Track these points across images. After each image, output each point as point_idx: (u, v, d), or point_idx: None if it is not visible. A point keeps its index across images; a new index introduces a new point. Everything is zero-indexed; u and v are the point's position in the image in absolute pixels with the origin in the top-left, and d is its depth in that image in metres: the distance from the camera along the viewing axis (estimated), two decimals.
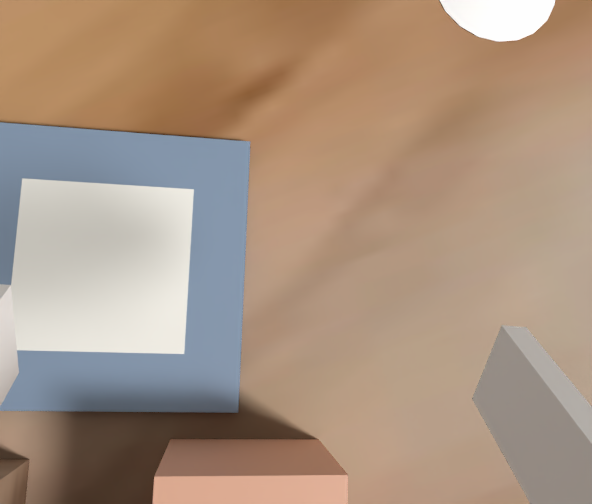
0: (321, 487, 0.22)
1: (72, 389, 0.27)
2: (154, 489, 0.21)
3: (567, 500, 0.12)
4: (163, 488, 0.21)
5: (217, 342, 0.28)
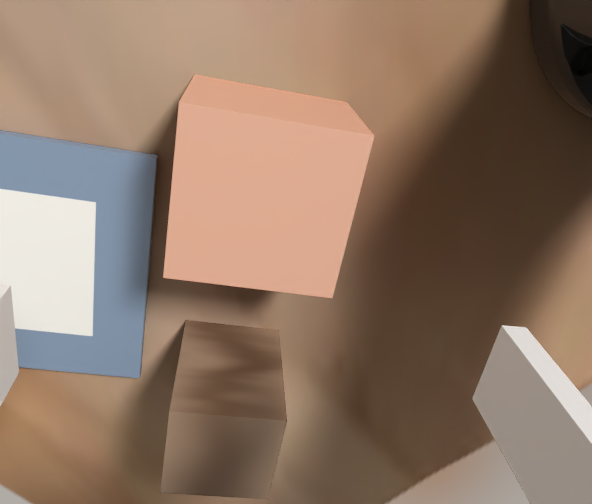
0: (188, 132, 0.21)
1: (127, 292, 0.31)
2: (173, 278, 0.24)
3: (567, 500, 0.12)
4: (173, 271, 0.24)
5: (83, 170, 0.28)
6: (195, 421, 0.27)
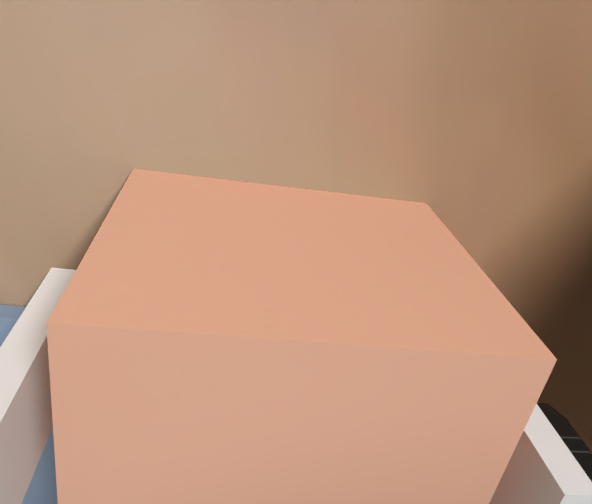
0: (83, 387, 0.08)
1: None
2: None
3: None
4: None
5: None
6: None
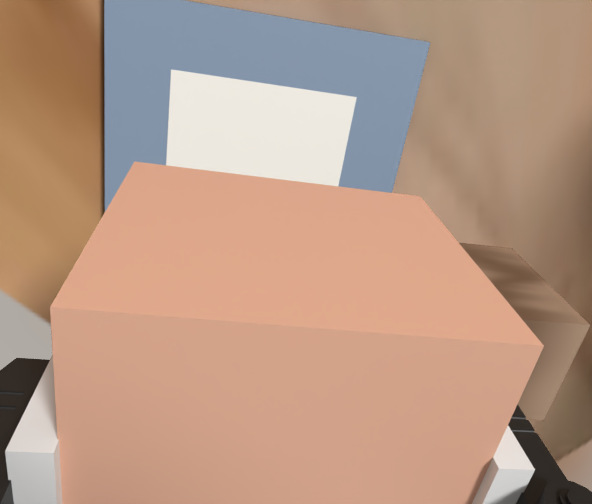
0: (85, 370, 0.08)
1: None
2: None
3: None
4: None
5: (350, 58, 0.25)
6: None
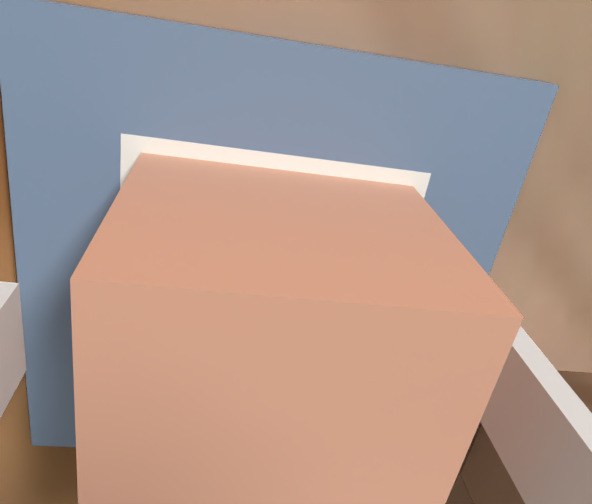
0: (102, 338, 0.09)
1: None
2: None
3: (558, 495, 0.12)
4: None
5: (425, 112, 0.15)
6: None
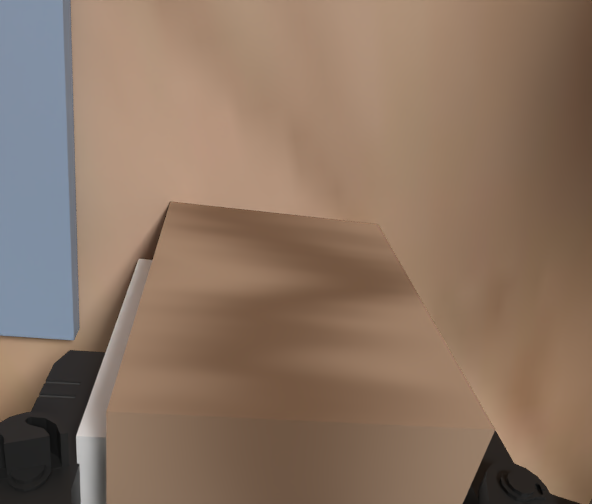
0: None
1: (18, 116, 0.13)
2: None
3: None
4: None
5: None
6: (198, 443, 0.08)
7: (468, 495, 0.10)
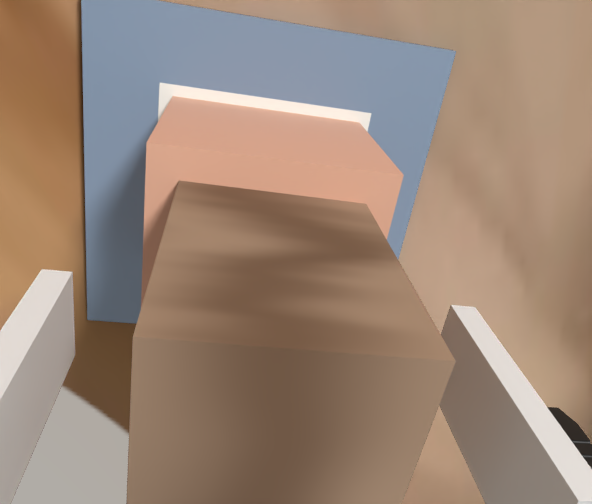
0: (161, 180, 0.16)
1: None
2: None
3: (500, 466, 0.12)
4: None
5: (365, 69, 0.22)
6: (208, 367, 0.10)
7: None
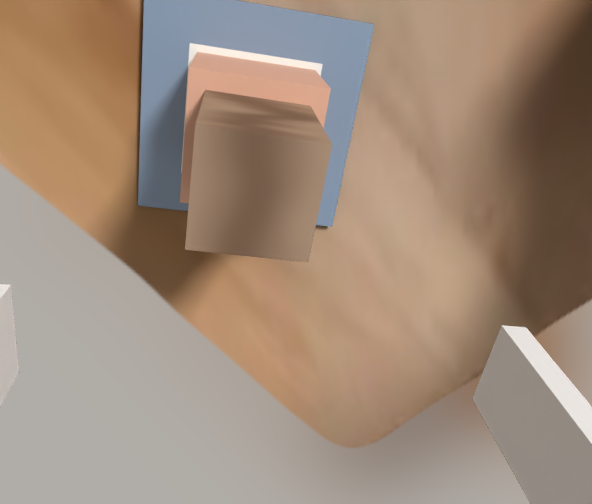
0: (196, 89, 0.29)
1: (334, 145, 0.39)
2: (187, 202, 0.32)
3: (567, 500, 0.12)
4: (187, 197, 0.32)
5: (317, 35, 0.35)
6: (225, 142, 0.23)
7: None
